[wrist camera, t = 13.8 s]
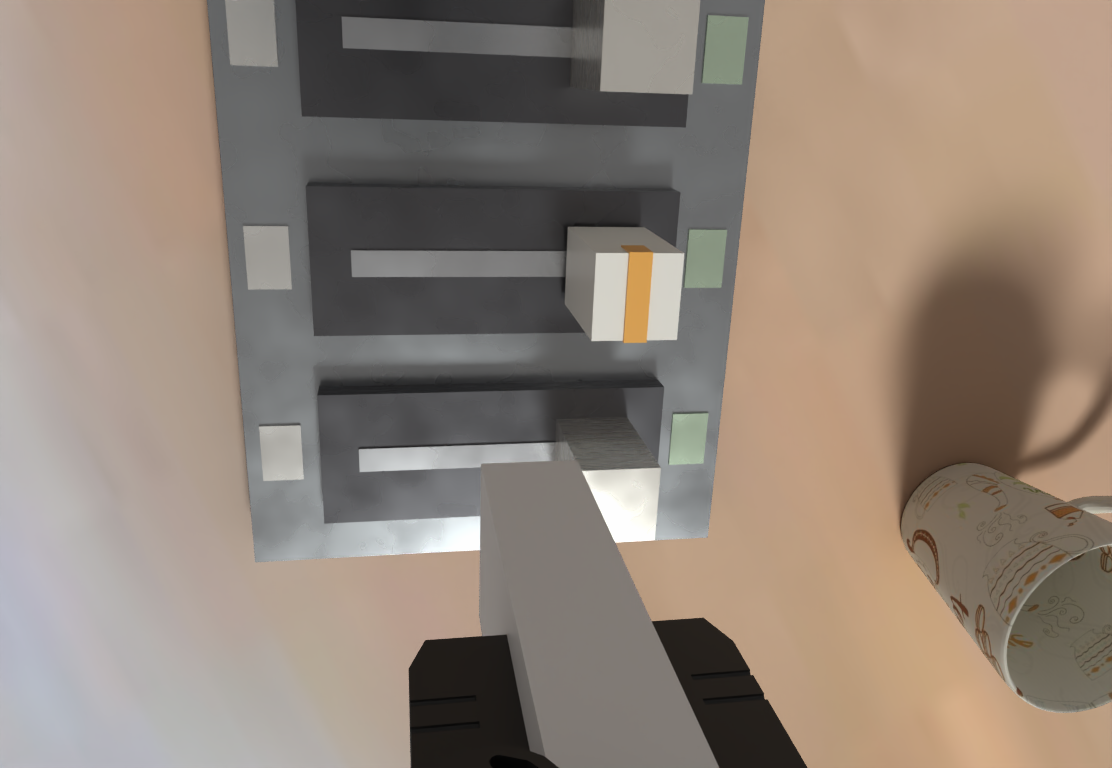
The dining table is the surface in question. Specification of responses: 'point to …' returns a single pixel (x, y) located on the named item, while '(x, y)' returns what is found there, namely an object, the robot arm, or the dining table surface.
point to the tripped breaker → (623, 283)
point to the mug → (1021, 579)
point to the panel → (472, 255)
